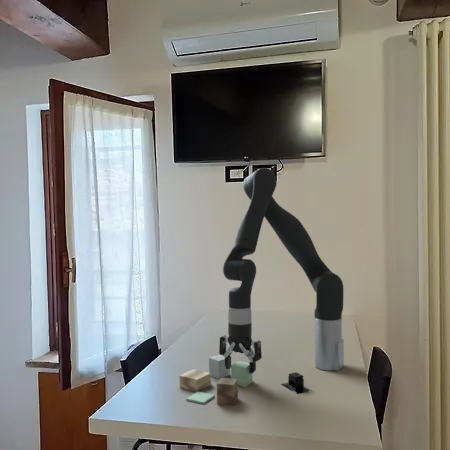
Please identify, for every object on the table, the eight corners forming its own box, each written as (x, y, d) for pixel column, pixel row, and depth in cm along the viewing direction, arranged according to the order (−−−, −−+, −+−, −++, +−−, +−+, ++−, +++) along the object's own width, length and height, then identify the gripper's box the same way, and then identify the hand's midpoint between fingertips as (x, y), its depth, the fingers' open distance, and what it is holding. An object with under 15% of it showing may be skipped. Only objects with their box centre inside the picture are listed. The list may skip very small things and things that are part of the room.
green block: (252, 381, 159) (252, 363, 158) (245, 386, 154) (245, 368, 154) (238, 379, 161) (238, 361, 161) (231, 384, 157) (231, 365, 156)
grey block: (230, 375, 165) (229, 357, 165) (218, 378, 162) (218, 361, 161) (220, 371, 169) (220, 354, 168) (209, 375, 165) (208, 357, 165)
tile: (214, 396, 146) (214, 394, 146) (204, 404, 141) (203, 402, 141) (197, 393, 149) (197, 391, 149) (186, 400, 144) (186, 398, 144)
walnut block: (237, 398, 145) (237, 378, 145) (234, 405, 140) (233, 384, 140) (221, 397, 146) (221, 377, 146) (217, 404, 141) (216, 383, 141)
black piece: (317, 393, 149) (317, 378, 149) (297, 398, 146) (297, 383, 145) (294, 380, 160) (294, 367, 160) (275, 384, 157) (274, 370, 157)
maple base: (210, 385, 156) (210, 373, 156) (196, 392, 151) (196, 379, 151) (194, 381, 161) (193, 369, 160) (179, 387, 155) (179, 375, 155)
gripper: (265, 320, 157) (265, 370, 158) (226, 315, 164) (226, 363, 165) (254, 326, 150) (254, 378, 151) (214, 320, 158) (215, 370, 158)
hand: (240, 370), depth 158 cm, fingers open, 8 cm apart
